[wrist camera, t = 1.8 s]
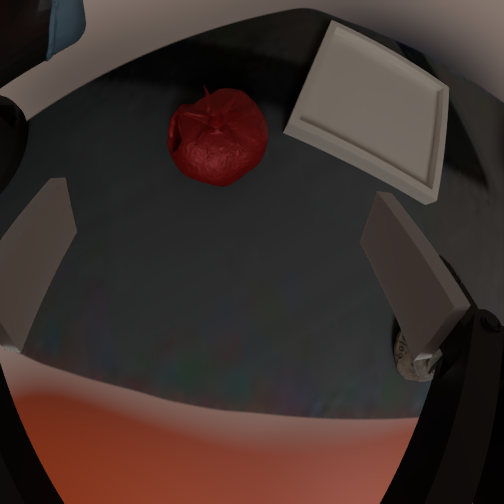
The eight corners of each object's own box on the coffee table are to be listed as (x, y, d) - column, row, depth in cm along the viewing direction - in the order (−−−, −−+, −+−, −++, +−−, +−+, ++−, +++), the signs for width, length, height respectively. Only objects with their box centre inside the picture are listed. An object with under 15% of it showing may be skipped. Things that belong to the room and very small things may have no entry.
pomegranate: (278, 140, 35) (300, 97, 25) (228, 211, 33) (235, 185, 24) (206, 96, 34) (207, 46, 25) (152, 161, 33) (134, 122, 23)
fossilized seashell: (388, 313, 33) (442, 322, 27) (431, 281, 38) (477, 284, 32) (393, 390, 34) (440, 405, 28) (434, 350, 39) (476, 359, 33)
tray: (283, 132, 35) (288, 122, 32) (326, 30, 37) (331, 20, 35) (425, 205, 36) (436, 200, 34) (440, 94, 39) (448, 87, 37)
